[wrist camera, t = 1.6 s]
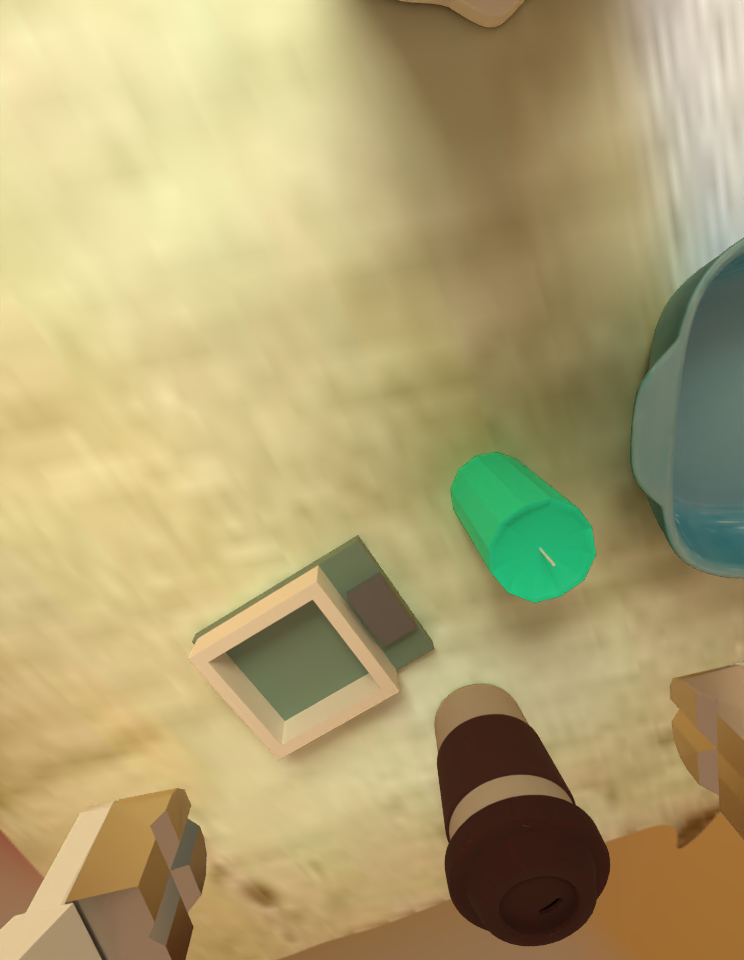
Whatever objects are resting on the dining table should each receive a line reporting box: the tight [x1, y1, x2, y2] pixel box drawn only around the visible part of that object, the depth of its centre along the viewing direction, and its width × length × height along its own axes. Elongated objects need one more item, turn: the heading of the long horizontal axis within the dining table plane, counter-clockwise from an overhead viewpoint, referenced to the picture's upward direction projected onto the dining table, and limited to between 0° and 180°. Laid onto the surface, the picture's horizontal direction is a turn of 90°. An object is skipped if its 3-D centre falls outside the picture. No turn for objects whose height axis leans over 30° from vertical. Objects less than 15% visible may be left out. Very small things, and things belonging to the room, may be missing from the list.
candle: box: [451, 452, 596, 603], centre depth 32 cm, size 6×6×12 cm
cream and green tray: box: [188, 536, 434, 760], centre depth 39 cm, size 15×11×4 cm
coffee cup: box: [435, 684, 610, 946], centre depth 37 cm, size 10×10×15 cm
